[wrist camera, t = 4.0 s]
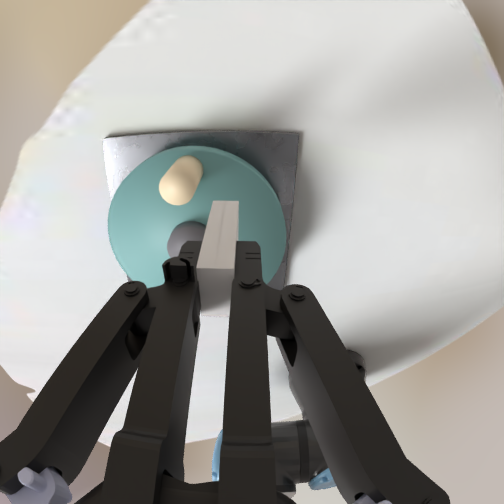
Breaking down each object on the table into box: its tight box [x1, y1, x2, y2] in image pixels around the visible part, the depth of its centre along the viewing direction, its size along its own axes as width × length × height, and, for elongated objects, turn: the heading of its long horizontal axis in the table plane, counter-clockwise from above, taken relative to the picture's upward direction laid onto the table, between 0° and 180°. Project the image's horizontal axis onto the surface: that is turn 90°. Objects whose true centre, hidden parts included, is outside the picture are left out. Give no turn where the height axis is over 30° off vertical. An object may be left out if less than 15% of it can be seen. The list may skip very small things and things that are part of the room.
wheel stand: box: [102, 131, 299, 291], centre depth 35 cm, size 22×22×3 cm
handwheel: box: [108, 146, 286, 288], centre depth 30 cm, size 20×20×7 cm
